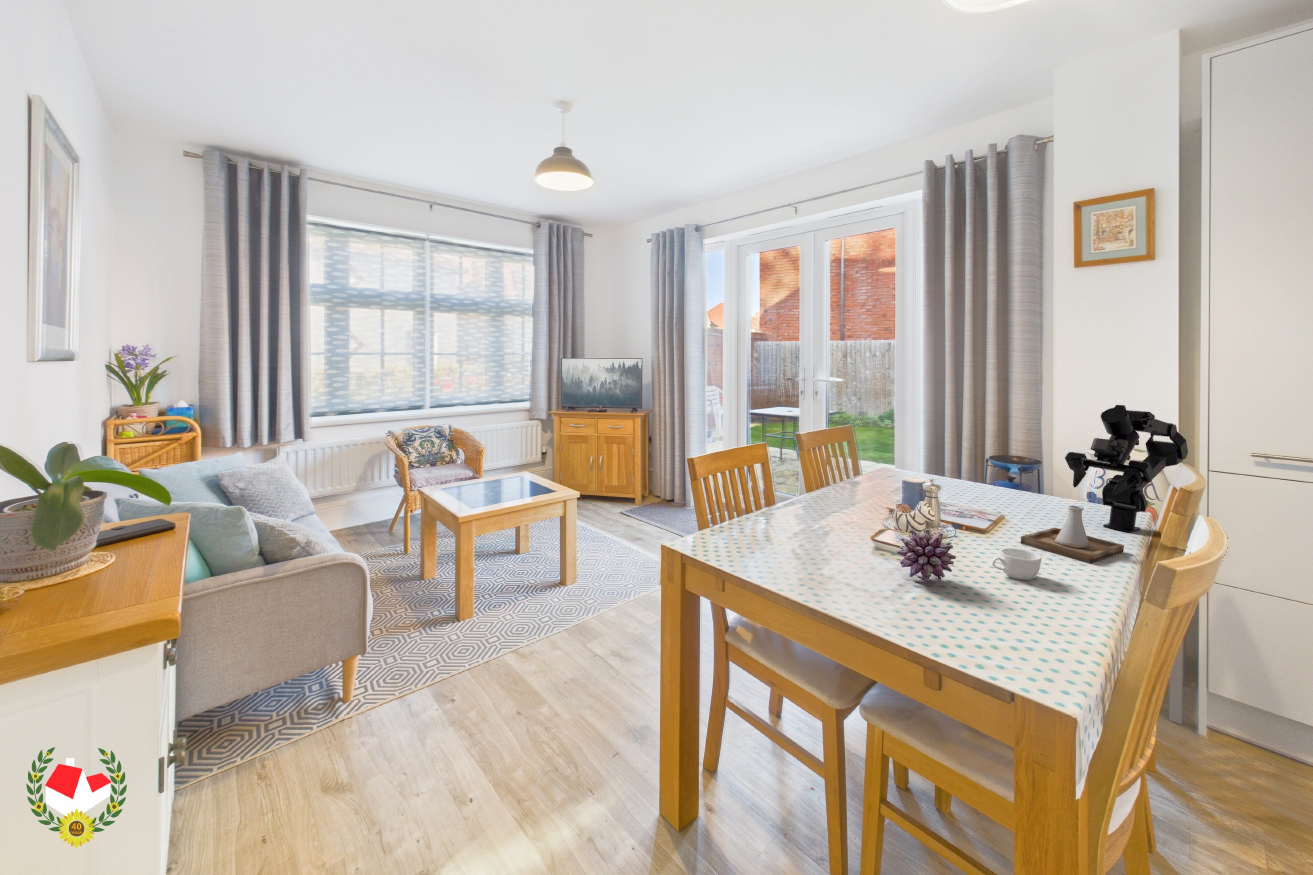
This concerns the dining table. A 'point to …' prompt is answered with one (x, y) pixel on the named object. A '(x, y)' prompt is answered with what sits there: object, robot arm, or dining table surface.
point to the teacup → (1019, 563)
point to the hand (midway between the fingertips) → (1093, 490)
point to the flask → (1073, 530)
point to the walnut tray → (1089, 555)
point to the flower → (926, 554)
